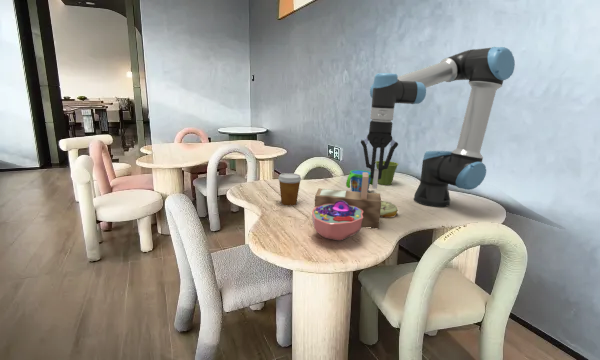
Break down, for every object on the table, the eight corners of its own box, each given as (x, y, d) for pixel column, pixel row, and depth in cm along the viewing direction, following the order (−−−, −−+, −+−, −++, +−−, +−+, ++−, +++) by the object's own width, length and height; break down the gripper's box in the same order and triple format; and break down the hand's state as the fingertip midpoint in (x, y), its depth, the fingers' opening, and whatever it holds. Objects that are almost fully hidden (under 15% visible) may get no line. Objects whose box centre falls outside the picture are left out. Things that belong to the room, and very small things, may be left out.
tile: (366, 193, 129) (368, 172, 127) (366, 199, 122) (368, 177, 120) (360, 193, 129) (362, 172, 127) (360, 198, 123) (362, 176, 121)
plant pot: (398, 187, 179) (401, 165, 176) (375, 186, 179) (377, 164, 176) (393, 181, 190) (395, 161, 187) (371, 180, 190) (373, 160, 187)
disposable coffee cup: (303, 202, 148) (305, 174, 145) (294, 208, 140) (295, 179, 137) (284, 198, 152) (284, 171, 149) (273, 204, 144) (274, 176, 141)
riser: (377, 218, 132) (380, 193, 130) (378, 228, 123) (381, 201, 120) (317, 213, 136) (318, 187, 133) (313, 222, 126) (315, 195, 124)
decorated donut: (382, 220, 131) (383, 210, 130) (361, 211, 141) (361, 201, 140) (402, 215, 138) (403, 205, 137) (380, 206, 147) (381, 197, 146)
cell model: (298, 239, 111) (299, 205, 108) (327, 221, 128) (329, 191, 125) (346, 254, 103) (349, 218, 100) (371, 232, 119) (374, 201, 116)
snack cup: (366, 188, 173) (367, 168, 171) (379, 194, 164) (381, 173, 162) (339, 191, 167) (340, 170, 164) (352, 197, 157) (353, 175, 155)
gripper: (362, 120, 116) (355, 188, 122) (402, 122, 114) (394, 192, 120) (361, 118, 123) (356, 183, 129) (399, 121, 121) (392, 186, 127)
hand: (374, 187), depth 124 cm, fingers closed
